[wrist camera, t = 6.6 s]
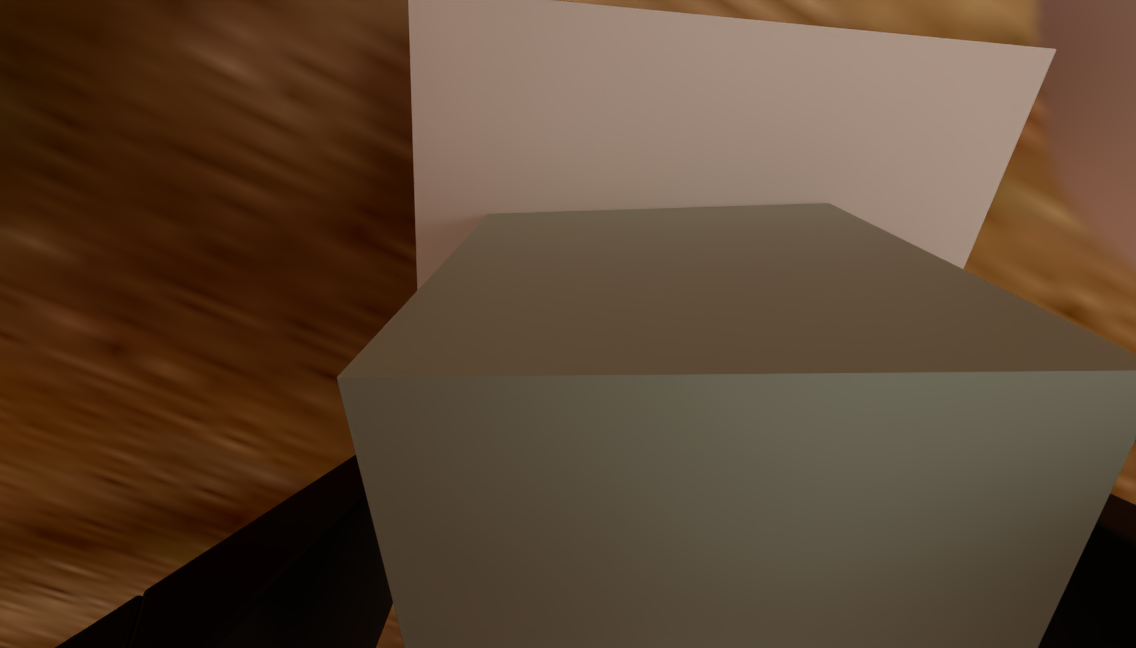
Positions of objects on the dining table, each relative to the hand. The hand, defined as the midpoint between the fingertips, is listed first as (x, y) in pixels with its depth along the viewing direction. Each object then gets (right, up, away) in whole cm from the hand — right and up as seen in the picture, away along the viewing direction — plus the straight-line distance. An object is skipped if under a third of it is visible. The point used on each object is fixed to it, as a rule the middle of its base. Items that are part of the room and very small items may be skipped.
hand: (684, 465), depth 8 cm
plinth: (0, +3, +7) cm, 7 cm away
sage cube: (0, +1, +3) cm, 3 cm away
